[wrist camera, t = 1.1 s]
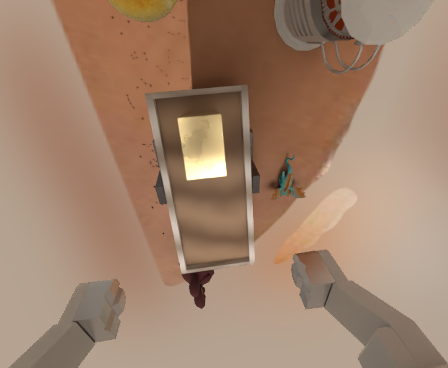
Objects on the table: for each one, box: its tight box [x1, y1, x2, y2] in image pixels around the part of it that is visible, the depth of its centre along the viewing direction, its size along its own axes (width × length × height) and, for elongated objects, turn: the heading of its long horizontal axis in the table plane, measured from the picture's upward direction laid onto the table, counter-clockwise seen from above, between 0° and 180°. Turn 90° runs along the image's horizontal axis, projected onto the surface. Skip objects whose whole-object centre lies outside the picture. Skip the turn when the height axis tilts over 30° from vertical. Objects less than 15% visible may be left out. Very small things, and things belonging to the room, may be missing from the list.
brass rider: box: [177, 111, 227, 180], centre depth 24 cm, size 6×4×7 cm, turn 4°
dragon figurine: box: [272, 156, 305, 199], centre depth 39 cm, size 6×7×8 cm
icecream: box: [179, 263, 214, 309], centre depth 41 cm, size 7×7×15 cm
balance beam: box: [145, 85, 255, 274], centre depth 30 cm, size 26×12×3 cm, turn 4°
